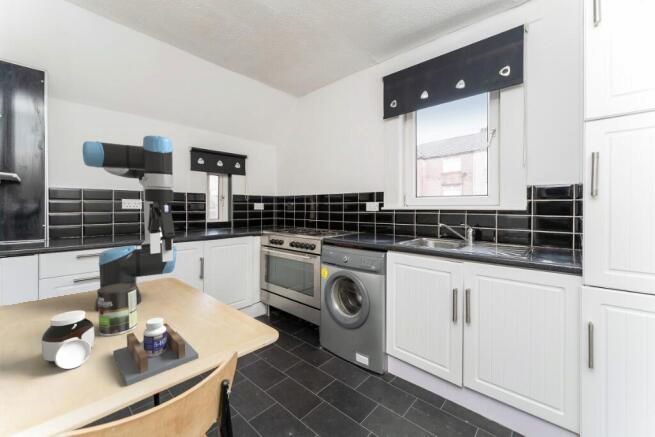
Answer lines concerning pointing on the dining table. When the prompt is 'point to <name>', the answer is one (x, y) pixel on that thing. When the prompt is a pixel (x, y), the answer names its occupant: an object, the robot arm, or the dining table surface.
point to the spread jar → (68, 340)
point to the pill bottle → (154, 337)
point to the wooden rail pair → (141, 356)
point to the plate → (151, 362)
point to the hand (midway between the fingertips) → (161, 256)
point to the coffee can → (117, 309)
